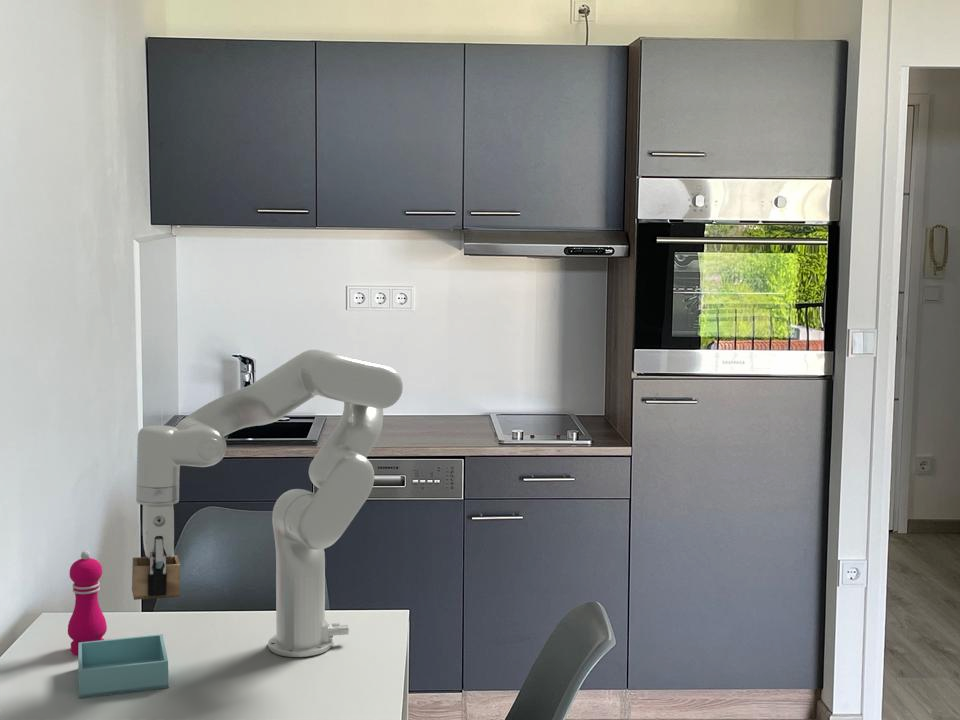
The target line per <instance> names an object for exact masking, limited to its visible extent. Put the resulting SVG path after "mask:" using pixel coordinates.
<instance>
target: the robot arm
mask: <svg viewBox="0 0 960 720" xmlns="http://www.w3.org/2000/svg"><path fill="white" fill-rule="evenodd" d="M403 389H404V385H403V380H402V378H401V375H400V374H399V373H398V372H397V371H396V370H395V369H394V368H392V367H391V366H388V365H383V364H380V363H376V362H372V361H369V360H360V359H359V360H358V359H355V358H354V359H353V358H350V357H347V356H343V355H339V354H335V353H332V352H329V351H325V350H320V349H308V350H306V351H303V352H301V353H299V354H297V355H296V356H294V357H293V358H291V359H289V360H288V361H286V362H285V363H283V364H281V365H280V366H278V367H276V369H273V370H272V371H271V372H269V373H267V374H266V375H264V376H262V377H261V378H259V379H258V380H256V381H255V382H253V383H250V384H248V385H247V386H244V387H241V388H239V389H237V390H235V391H233V392H230V393H227V394H225V395H223V396H221V397H218V398H216V399H214V400H212V401H210V402H208V403H206V404H203V406H201V407H199V408H198V409H197V410H194V411H193V412H191V413H189V415H187V416H185V417H184V418H182V419H181V420H180V421H178V423H177V424H176V425H175V426H172V425H171V426H170V425H148V426H144V427H141V429H139V431H138V433H137V446H136V447H137V452H136V453H137V454H136V455H137V456H136V458H137V459H136V487H135V488H136V491H135V492H136V494H135V495H136V496H135V497H136V498H135V499H136V500H135V502H136V503H137V504H139V505H142V542H143V550H144V554H145V557H147V558H148V559H149V560H150V574H148V596H162V595H166V584H167V573H166V556H167V557H170V558H173V556H175V546H174V545H175V542H174V541H175V515H174V514H175V510H174V505H175V504H177V503H179V501H180V475H181V474H180V471H181V470H180V469H181V466H185V467H186V466H187V467H197V468H207V467H211V466H212V467H213V466H215V465H217V464H218V463H220V462H221V461H222V460H223V459H224V457H225V455H226V451H227V441H226V438H225V437H226V436H227V435H230V434H232V433H234V432H236V431H239V430H242V429H246V428H250V427H256V426H258V427H259V426H265V425H268V424H273V423H276V422H277V421H279V420H281V419H282V418H283V417H285V416H287V415H289V413H291V412H293V411H295V410H296V409H298V408H299V407H300V406H301V405H303V404H304V403H306V402H308V401H310V400H311V399H313V398H314V397H316V396H320V397H323V398H327V399H330V400H334V401H338V402H343V411H342V415H341V417H340V420H339V421H338V423H337V424H336V425H335V428H334V429H333V431H332V432H331V434H330V435H329V436H328V438H327V439H326V440H325V441H324V443H323V445H322V446H321V447H320V449H319V450H318V451H317V453H316V454H315V455H314V457H313V458H312V460H311V461H310V464H309V468H308V476H309V480H310V481H311V482H312V484H313V485H314V486H315V487H317V491H316V492H315V493H313V492H312V491H310V490H308V489H307V490H306V489H301V488H294V489H293V488H292V489H289V490H287V491H285V492H283V493H282V494H281V495H280V496H279V497H278V498H277V500H276V501H275V504H274V505H273V509H272V514H271V515H272V517H271V518H272V519H271V520H272V528H273V530H272V531H273V536H274V543H275V545H274V546H275V558H276V559H275V561H276V563H275V564H276V566H275V567H276V571H275V572H276V573H275V581H276V582H275V583H276V584H275V589H276V591H275V593H276V594H275V595H276V596H275V597H276V599H275V601H276V602H275V603H276V604H275V606H276V608H275V609H276V610H275V612H276V617H275V618H276V622H275V623H276V624H275V625H276V629H275V630H276V633H275V634H274V635H273V636H272V637H270V638H269V640H268V649H269V650H270V651H271V652H272V653H273V654H276V655H278V656H282V657H287V658H304V657H307V658H308V657H313V656H317V655H320V654H324V653H325V652H328V651H329V650H330V649H331V648H332V647H333V637H334V636H344V635H345V636H346V635H349V632H350V631H349V630H350V629H349V625H348V624H344V625H343V624H342V625H340V622H333V623H328V622H327V621H326V619H325V618H326V616H325V615H326V614H325V613H326V612H325V611H326V608H325V607H326V605H325V604H326V602H325V601H326V600H325V598H326V596H325V595H326V592H325V591H326V590H325V589H326V587H325V586H326V584H325V583H326V577H325V575H326V572H325V570H326V557H325V554H326V553H325V549H327V548H329V547H331V546H333V545H334V544H335V543H336V542H337V541H338V540H339V539H340V538H341V537H342V536H343V534H344V533H345V532H346V530H347V528H349V526H350V525H351V522H352V521H353V520H354V518H355V517H356V515H358V513H359V511H360V510H361V509H362V507H363V506H364V504H365V503H366V501H367V500H368V498H369V496H370V494H371V492H372V489H373V487H374V483H375V470H374V467H373V465H372V463H371V462H370V460H369V459H368V456H369V454H370V453H371V451H372V449H373V448H374V447H375V444H376V443H377V441H378V439H379V437H380V435H381V432H382V429H383V424H384V409H387V408H390V407H392V406H394V405H395V404H396V403H398V401H399V400H400V398H401V396H402V394H403ZM153 561H155V563H154V564H153Z"/></svg>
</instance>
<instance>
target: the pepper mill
mask: <svg viewBox="0 0 960 720" xmlns="http://www.w3.org/2000/svg"><path fill="white" fill-rule="evenodd" d="M102 574H103V567H102V564H101V562H99V561H98V560H97V559H95V558H92V557H91V553H90V551H88V550H84V551H82V552H81V554H80V559H77V560H75V561H74V562H73V563H72V564H71V565H70V569H69V578H70V579H71V581H72V582H73V584H72V592H73V594H74V595H75V596H74V597H75V602H74V608H73V610H72V614H71V616H70V619H69V621H68V626H67V635H68V636H69V637H68V638H70V639H71V640H72V641H71V643H70V653H71V654H72V655H74V656H77V657H78V643H80V642H89V641H99V640H105V639H104V638H103V637H104V636H105V635H106V632H107V629H108V625H107V621H106V617H105V615H104V612H103V611H102V609H101V607H100V604H99V598H98V597H99V595H98V593H99V591H100V589H101V587H100V585H101V583H100V581H99V580H100V579H101V577H102Z"/></svg>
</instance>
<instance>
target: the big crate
mask: <svg viewBox="0 0 960 720" xmlns="http://www.w3.org/2000/svg"><path fill="white" fill-rule="evenodd" d="M163 634H164V633H163ZM163 634H162V633H161V634H160V633H158V634H151V635H139V636H131V637H121V638H111V639H110V638H109V639H104V640H99V641H89V642H80V643H78V656H77V658H78V662H77V663H78V664H77V665H78V670H77V671H78V673H77V674H78V698H79V699H84V698H83V697H86V698H92V696H95V697H101V696H100V695H103V696H109V695H110V694H112V695H119V694H120V695H121V694H126V693H135V692H136V693H137V692H138V693H139V692H145V691H152V690H153V691H155V690H160V689H161V690H162V689H168V688H169V659H168V655H167V649H166V644H165V640H164V635H163Z"/></svg>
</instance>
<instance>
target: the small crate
mask: <svg viewBox="0 0 960 720" xmlns="http://www.w3.org/2000/svg"><path fill="white" fill-rule="evenodd" d="M154 563H155V561H153V564H154ZM131 565H132V567H131V568H132V570H131V571H132V572H131V573H132V574H131V591H132V597H133V601H134V600H150V599H155V600H156V599H171V598H180V597H181V593H180V592H181V562H180V559H179V557H178V555H174V556H173V558H170V557H167V555H166V573H167V584H166V595H162V596H148V574H150V560H149V559H148V558H147V557H146V556H141V557H140V556H139V557H138V556H137V557H132V564H131Z"/></svg>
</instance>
